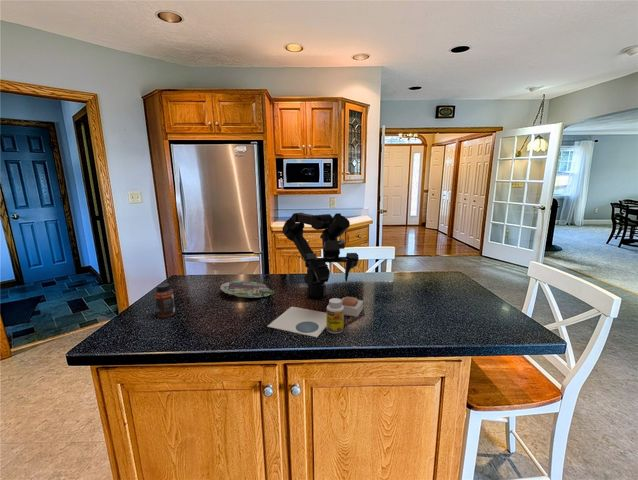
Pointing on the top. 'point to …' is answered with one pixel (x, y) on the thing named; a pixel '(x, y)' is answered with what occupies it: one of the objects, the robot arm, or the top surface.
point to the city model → (246, 289)
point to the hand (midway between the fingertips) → (332, 281)
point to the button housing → (353, 308)
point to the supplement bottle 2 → (335, 316)
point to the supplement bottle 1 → (164, 301)
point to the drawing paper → (301, 321)
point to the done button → (350, 301)
